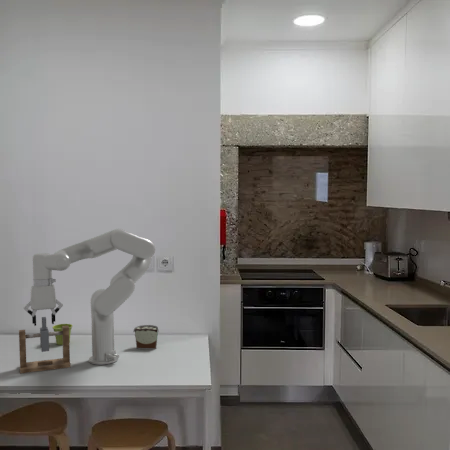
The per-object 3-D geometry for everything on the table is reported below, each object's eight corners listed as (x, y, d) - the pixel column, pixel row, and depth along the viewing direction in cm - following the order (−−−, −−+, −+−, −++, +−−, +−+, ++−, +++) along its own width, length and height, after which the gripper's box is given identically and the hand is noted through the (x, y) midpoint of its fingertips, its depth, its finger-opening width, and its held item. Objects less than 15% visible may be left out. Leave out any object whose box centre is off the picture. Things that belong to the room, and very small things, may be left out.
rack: (68, 360, 235) (67, 324, 234) (70, 367, 227) (69, 329, 225) (20, 366, 228) (18, 328, 226) (20, 373, 219) (19, 334, 218)
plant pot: (67, 346, 255) (66, 329, 255) (49, 345, 257) (48, 328, 257) (76, 341, 265) (76, 324, 264) (59, 340, 267) (58, 323, 266)
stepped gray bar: (49, 351, 224) (48, 319, 223) (41, 351, 223) (40, 320, 222) (47, 346, 231) (46, 315, 230) (40, 346, 230) (39, 316, 229)
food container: (161, 345, 258) (161, 324, 257) (159, 349, 251) (158, 328, 251) (137, 344, 259) (136, 324, 258) (133, 348, 253) (133, 327, 252)
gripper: (63, 279, 231) (64, 320, 232) (20, 282, 225) (22, 324, 226) (64, 282, 224) (65, 324, 225) (20, 285, 218) (22, 328, 219)
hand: (44, 323), depth 226 cm, fingers open, 6 cm apart
